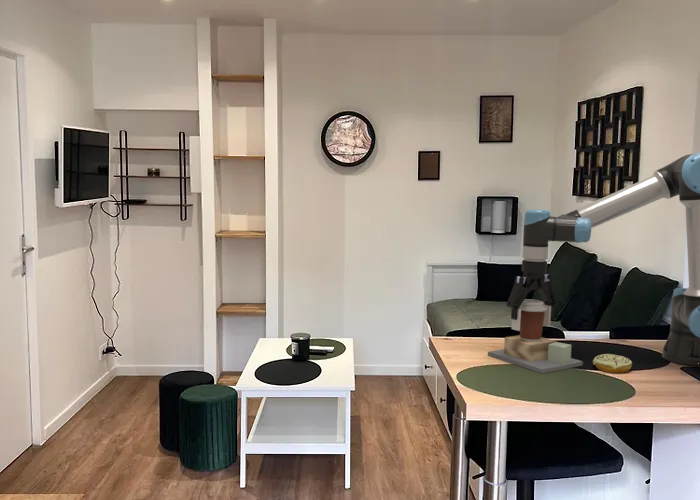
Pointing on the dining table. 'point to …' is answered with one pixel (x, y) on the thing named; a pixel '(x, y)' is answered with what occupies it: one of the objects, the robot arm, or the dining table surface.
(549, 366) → the build board
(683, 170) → the robot arm
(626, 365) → the decorated donut
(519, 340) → the oak plinth
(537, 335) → the coffee cup
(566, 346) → the sage cube
